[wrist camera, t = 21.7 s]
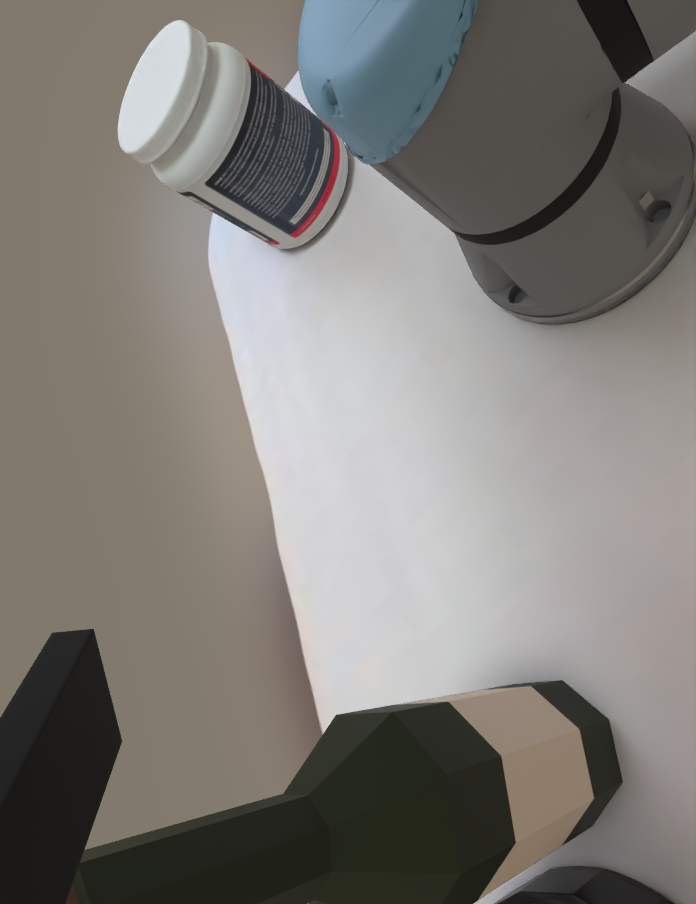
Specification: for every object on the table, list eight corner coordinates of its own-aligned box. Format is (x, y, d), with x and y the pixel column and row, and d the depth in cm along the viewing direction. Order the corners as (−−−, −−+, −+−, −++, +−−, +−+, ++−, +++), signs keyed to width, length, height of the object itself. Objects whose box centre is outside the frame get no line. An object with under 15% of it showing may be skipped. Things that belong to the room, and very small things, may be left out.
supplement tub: (356, 112, 61) (202, -26, 48) (354, 226, 58) (189, 111, 45) (271, 170, 69) (120, 66, 56) (266, 272, 66) (104, 187, 53)
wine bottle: (535, 852, 36) (-30, 1204, 15) (467, 713, 41) (-39, 825, 19) (656, 796, 32) (143, 1154, 11) (566, 651, 37) (82, 702, 16)
